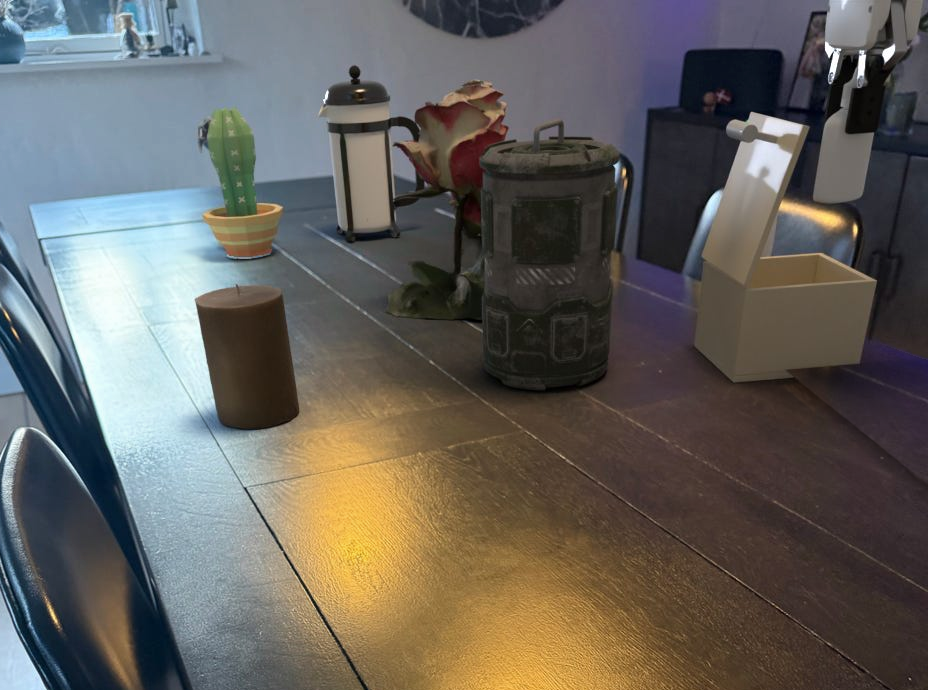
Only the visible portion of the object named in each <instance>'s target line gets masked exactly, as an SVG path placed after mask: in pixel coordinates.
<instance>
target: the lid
mask: <svg viewBox="0 0 928 690" xmlns="http://www.w3.org/2000/svg"><path fill="white" fill-rule="evenodd" d="M747 120H748V122H747V123H746V121H742V120H739V119H732V120H730V121H729V122H728V124H727V125H726V128H725V133H726V135H727V136H728V137H729V138H731V139H734V140H737V141H740V143H739V146H738V148H737V151H736V154H735V156H734V160H733V163H732V166H731V168H730V172H729V174H728V178H727V180H726V183H725V186H724V189H723V192H722V195H721V198H720V201H719V204H718V206H717V209H716V212H715V215H714V218H713V221H712V224H711V227H710V230H709V232H708V236H707V239H706V242H705V245H704V247H703V250H702V253H701V256H700V257H701V258H702V259H704V261H708V262H709V263H711V264H712V265H714V266H715V267H717V268H718V269H720V270H721V271H723V272H724V273H726V274H727V275H729V276H730V277H732V278H733V279H735V280H736V281H738V282H739V283H741V284H742V285H744V286H748V287H749V286H750V284H751V281H752V279H753V276H754V273H755V271H756V268H757V265H758V263H759V260H760V257H761V255H762V252H763V249H764V247H765V244H766V241H767V239H768V236H769V234H770V231H771V228H772V226H773V223H774V220H775V218H776V215H777V212H778V213H779V210H780V207H781V205H782V201H783V199H784V196H785V193H786V191H787V189H788V186H789V183H790V181H791V179H792V176H793V172H794V169H795V167H796V165H797V162H798V159H799V156H800V154H801V151H802V149H803V146H804V144H805V141H806V138H807V135H808V133H809V130H810V128H811V127H810V126H809V125H805V124H802V123H797V122H793V121H789V120H785V119H781V118H778V117H773V116H770V115H765V114H761V113H757V112H754V111H751V112H750V113H749V117H748V119H747Z"/></svg>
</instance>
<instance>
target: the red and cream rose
mask: <svg viewBox="0 0 928 690" xmlns="http://www.w3.org/2000/svg"><path fill="white" fill-rule="evenodd" d="M461 86H462V87H460V88H459V89H456V90H455V91H452V92H449V93H448V94H445V95H444V97H443V100H442V101H437V103H435V104H434V103H432V101H431V100H428V101H426V102H424V104H425V105H424V106H423V107H420V108H418V109H415V112H414V115H413V118H414V122H415V123H416V124H417V126H418V128H419V130H420V132H419V133H418V134H419V135H421V136H420V137H419V142H416V141H413V139H412V140H411V139H410V140H405V141H394V142H393V144H392V147H396V148H397V149H400V150H401V151H402V153H403V154H404V155H405V156H406V157H407V158H408V160H409V162H410V163H411V164H412V166H413V167H414V170H415V169H416V170H417V172H418V174H419V176H420V178H421V179H423V180H424V181H425V184H426V185H427V187H428V188H424V189H423V190H419V191H414V190H411V191H410V190H409V191H405V192H402V193H399V194H397V195H395V197H394V198H393V200H394V201H397V200H400V199H403V198H420V199H432V198H436V197H438V196H441V195H443V194H445V193H450V196H451V201H449V202H448V205H449V206H451V207H453V208H452V211H453V214H454V219H455V221H454V223H455V225H454V230H453V239H452V240H453V241H452V248H453V257H452V258H453V259H452V261H453V265H454V267H453V270H452V271H447V270H444V269H443V268H439V267H437V266H435V265H432V264H430V263H429V264H428V263H426V262H425V261H424V260H420V259H417V258H415V257H412V258H410V259H409V260H407V262H406V263H407V265H408V266H410V268H411V271H412V276H413V277H415V278H416V279H417V280H418V281H419V282H417V281H410V280H408V279H407V280H406V281H405V282H403V283H402V284H401V285H400V287H399V288H398V289H397V290H395V291H393V292H392V293H391V294H388V296H387V306H386V309H385V313H388V314H391V315H392V316H395V317H406V318H412V319H413V318H414V319H427V320H428V319H430V320H433V319H434V320H447V321H448V320H449V321H454V320H456V319H457V320H461V319H473V320H478V321H482V296H483V293H484V289H485V257H484V253H483V251H482V223H481V188H482V187H483V172H484V171H485V170H484V169H482V168H481V167H480V164H479V158H480V157H481V156H482V154H483V151H484V149H485V148H486V147H487V146H489V145H491V144H494V143H497V142H502V141H506V137H507V134H508V131H509V129H510V128H509V126H508V125H505V124H502V123H503V121H504V120H505V117H506V110H507V106H508V104H507V103H506V102H505V101H498V100H499V99H500V98H501V97H503V96H504V92H502V91H500V90H498V89H495V88H494V87H493V82H491V81H489V80H480V79H471V80H469V81H467V82H463V84H462V85H461ZM367 221H368V218H367ZM469 248H470V249H471V251H472V253H473V255H474V256H475V258H476V262H475V264H474V266H472V267H465V266H464V265H463V263H462V257H463V255H464V254H465V253H466V252H467V250H468V249H469Z"/></svg>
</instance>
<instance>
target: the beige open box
mask: <svg viewBox="0 0 928 690" xmlns="http://www.w3.org/2000/svg"><path fill="white" fill-rule="evenodd" d="M701 270H702V272H701V278H700V279H701V280H700V290H699V299H698V307H697V316H696V327H695V334H694V335H695V336H694V344H693V345H694V348H696V349H697V351H698V352H700V353H701V354H702V355H703V356H704V357H705V358H706V359H707V360H708V361H710V362H711V363H712V364H713V365H714V366H715V368H717V369H718V370H719V371H720V372H722V374H723V375H725V376H726V377H727V378H728V379H729V380H730V381H731V382H732V383H744V382H745V383H746V382H757V381H759V382H760V381H770V380H772V381H773V380H782V379H794V378H795V376H793V375H792V374H791V373H790V372H788V371H787V370H799V369H811V368H823V367H835V366H836V367H837V366H848V365H859V364H860V363H861V358H862V353H863V349H864V344H865V339H866V334H867V330H868V325H869V321H870V316H871V311H872V307H873V302H874V297H875V292H876V288H877V284H878V283H877V282H878V280H876V279H875V278H873V277H870V276H869V275H866V273H865V274H864V273H862V272H861V271H859V270H856V269H854V268H853V267H851V266H849V265H847V264H845V263H843V262H840V261H839V260H836V259H835V258H832V257H831V256H829V255H827V254H825V253H823V252H814V253H800V254H787V255H773V256H772V255H771V257H760V260H759V263H758V265H757V268H756V271H755V273H754V276H753V279H752V281H751V284H750V286H749V287H748V286H744V285H742V284H741V283H739V282H738V281H736V280H735V279H733V278H732V277H730V276H729V275H727V274H726V273H724V272H723V271H721V270H720V269H718V268H717V267H715V266H714V265H712V264H711V263H709V262H708V261H707V260H704V261H703V263H702V269H701Z"/></svg>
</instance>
